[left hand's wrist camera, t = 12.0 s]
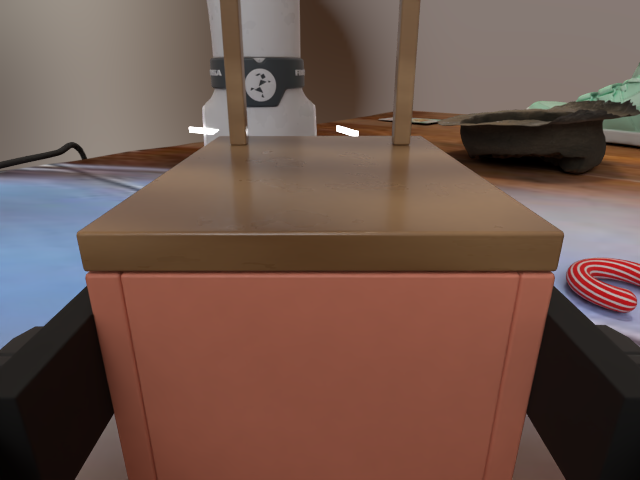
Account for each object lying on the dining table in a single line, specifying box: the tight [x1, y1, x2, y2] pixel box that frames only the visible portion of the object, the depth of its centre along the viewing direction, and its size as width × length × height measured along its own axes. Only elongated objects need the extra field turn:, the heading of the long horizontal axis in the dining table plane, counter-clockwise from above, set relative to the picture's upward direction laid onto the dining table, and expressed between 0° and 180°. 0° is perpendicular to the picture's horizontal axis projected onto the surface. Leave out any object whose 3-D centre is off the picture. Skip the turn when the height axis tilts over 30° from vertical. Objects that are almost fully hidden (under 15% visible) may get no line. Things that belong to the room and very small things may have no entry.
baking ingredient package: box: [378, 118, 440, 123], centre depth 114 cm, size 9×1×15 cm
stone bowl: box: [437, 99, 640, 174], centre depth 63 cm, size 25×25×9 cm
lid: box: [77, 0, 564, 271], centre depth 14 cm, size 13×10×9 cm
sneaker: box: [527, 63, 640, 147], centre depth 79 cm, size 14×35×20 cm, turn 42°
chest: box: [86, 271, 555, 480], centre depth 17 cm, size 13×10×9 cm
